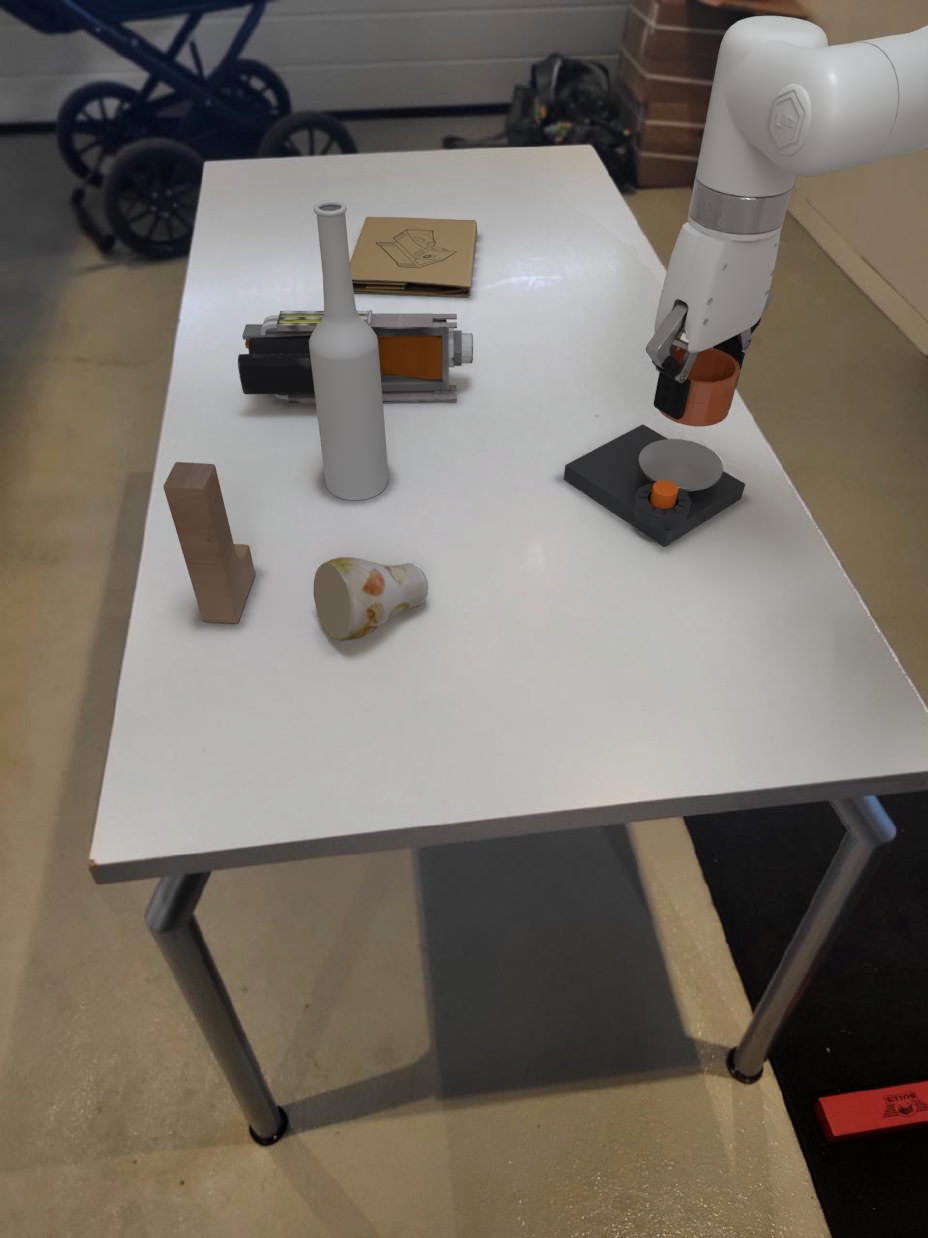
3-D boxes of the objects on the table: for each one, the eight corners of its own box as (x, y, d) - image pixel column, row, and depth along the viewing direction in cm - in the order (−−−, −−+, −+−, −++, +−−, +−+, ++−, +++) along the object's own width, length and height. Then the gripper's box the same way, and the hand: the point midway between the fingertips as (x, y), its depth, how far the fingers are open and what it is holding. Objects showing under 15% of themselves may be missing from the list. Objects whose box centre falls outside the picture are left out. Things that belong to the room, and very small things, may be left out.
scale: (742, 499, 91) (751, 471, 88) (659, 551, 85) (665, 523, 83) (640, 438, 98) (645, 411, 96) (557, 482, 93) (560, 454, 90)
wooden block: (238, 624, 78) (203, 488, 67) (201, 622, 78) (161, 485, 67) (256, 574, 82) (226, 438, 72) (221, 571, 83) (187, 436, 72)
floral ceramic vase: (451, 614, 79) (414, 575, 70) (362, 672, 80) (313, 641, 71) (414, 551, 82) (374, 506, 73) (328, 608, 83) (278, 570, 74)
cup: (743, 409, 84) (755, 366, 81) (697, 435, 81) (707, 392, 78) (688, 379, 88) (697, 338, 84) (641, 403, 84) (649, 361, 81)
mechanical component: (473, 418, 101) (474, 337, 94) (247, 419, 101) (232, 337, 93) (471, 375, 107) (472, 296, 100) (259, 375, 107) (245, 296, 100)
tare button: (680, 503, 85) (683, 488, 84) (663, 512, 84) (666, 498, 83) (661, 491, 87) (664, 476, 85) (644, 500, 86) (647, 486, 84)
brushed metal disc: (739, 469, 89) (740, 466, 88) (684, 502, 85) (685, 499, 85) (675, 432, 93) (676, 429, 93) (620, 462, 89) (621, 459, 89)
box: (470, 298, 122) (470, 282, 120) (344, 293, 122) (343, 277, 121) (478, 234, 137) (479, 219, 135) (366, 230, 137) (365, 215, 136)
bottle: (374, 505, 90) (351, 225, 70) (315, 493, 91) (275, 215, 71) (397, 468, 94) (382, 195, 74) (340, 457, 95) (310, 186, 75)
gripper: (766, 166, 77) (721, 353, 89) (629, 216, 69) (601, 413, 82) (841, 192, 73) (782, 384, 85) (705, 248, 65) (663, 450, 78)
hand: (694, 397), depth 83 cm, fingers closed on cup, 6 cm apart
